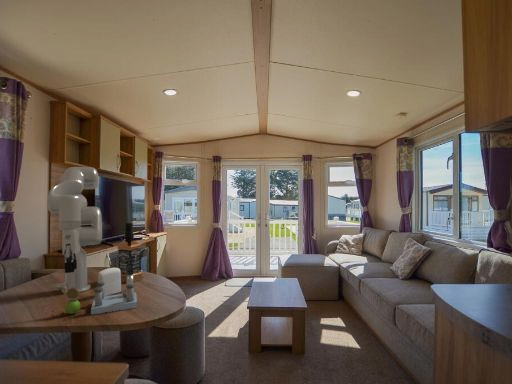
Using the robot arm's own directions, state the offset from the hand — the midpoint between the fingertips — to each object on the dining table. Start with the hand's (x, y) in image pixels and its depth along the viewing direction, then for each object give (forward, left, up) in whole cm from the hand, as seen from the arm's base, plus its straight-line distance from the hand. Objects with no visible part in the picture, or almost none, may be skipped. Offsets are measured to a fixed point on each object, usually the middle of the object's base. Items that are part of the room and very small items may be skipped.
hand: (70, 270), depth 122 cm
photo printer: (+13, +20, -18) cm, 30 cm away
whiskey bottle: (+22, +42, -18) cm, 51 cm away
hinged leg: (+22, +4, -14) cm, 27 cm away
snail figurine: (0, 0, -18) cm, 18 cm away
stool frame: (+16, +2, -17) cm, 24 cm away
